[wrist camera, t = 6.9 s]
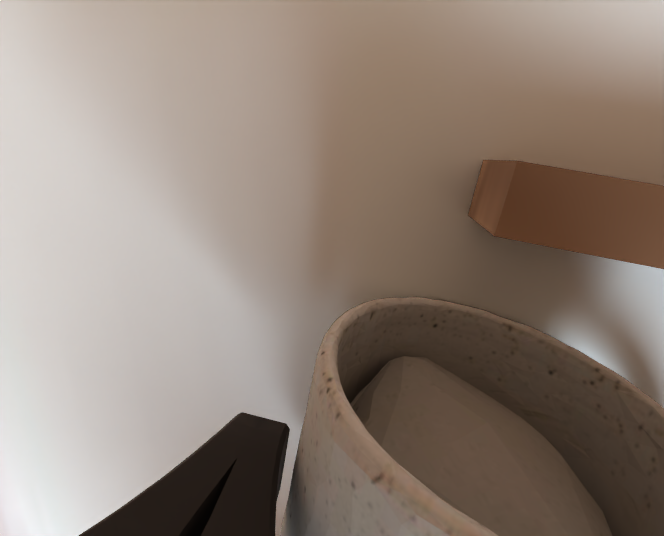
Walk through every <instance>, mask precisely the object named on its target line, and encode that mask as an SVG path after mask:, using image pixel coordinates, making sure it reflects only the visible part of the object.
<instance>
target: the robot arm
mask: <svg viewBox="0 0 664 536" xmlns="http://www.w3.org/2000/svg"><path fill="white" fill-rule="evenodd" d="M289 431H290V429H289V427H288V426H287V424H285V423H281V422H277V421H273V420H270V419H266V418H262V417H258V416H254V415H250V414H246V413H243V412H242V413H240V414H238V415H237V416H235V417H234V418H233V419H232V420H231V421H230V422H229V423H228V424H227V425H225V426H224V427H223V428H222V429H221V430H220V431H219V432H218V433H216V434H215V435H214V436H213V437H212V438H211V439H209V440H208V441H207V442H206V443H205V444H203V445H202V446H201V447H200V448H199V449H198V450H196V451H195V452H194V453H193V454H191V455H190V456H189V457H188V458H186V459H185V460H184V461H183V462H181V463H180V464H179V465H178V466H176V467H175V468H174V469H173V470H171V471H170V472H169V473H168V474H166V475H165V476H164V477H162V478H161V479H160V480H158V481H157V482H156V483H154V484H153V485H151V486H150V487H149V488H147V489H146V490H145V491H143V492H142V493H140V494H139V495H138V496H136V497H135V498H134V499H132V500H131V501H129V502H128V503H127V504H125V505H124V506H122V507H121V508H120V509H118V510H117V511H115V512H114V513H112V514H111V515H109V516H108V517H106V518H105V519H103V520H102V521H100V522H99V523H97V524H96V525H94V526H93V527H91V528H90V529H88V530H86V531H85V532H83V533H82V534H80V535H79V536H275V517H276V501H277V497H278V494H279V490H280V486H281V480H282V474H283V468H284V462H285V455H286V449H287V443H288V437H289Z"/></svg>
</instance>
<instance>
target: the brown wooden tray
mask: <svg viewBox="0 0 664 536" xmlns="http://www.w3.org/2000/svg"><path fill="white" fill-rule="evenodd" d="M468 216H470V217H471V218H472V219H473V220H475V221H476V222H477V223H478V224H480V225H481V226H482V227H483V228H485V229H486V230H487V231H488V232H490V233H491V234H492V235H493V236H496V237H501V238H506V239H511V240H517V241H522V242H527V243H532V244H537V245H542V246H548V247H553V248H558V249H563V250H568V251H573V252H578V253H584V254H589V255H594V256H599V257H604V258H609V259H615V260H620V261H625V262H630V263H635V264H640V265H646V266H651V267H656V268H661V269H664V186H660V185H655V184H649V183H643V182H637V181H631V180H626V179H620V178H614V177H608V176H602V175H597V174H591V173H585V172H579V171H573V170H568V169H562V168H556V167H550V166H544V165H539V164H533V163H527V162H521V161H503V160H483V163H482V167H481V170H480V174H479V177H478V181H477V184H476V188H475V192H474V195H473V199H472V202H471V206H470V209H469V213H468Z"/></svg>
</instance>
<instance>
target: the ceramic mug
mask: <svg viewBox="0 0 664 536" xmlns="http://www.w3.org/2000/svg"><path fill="white" fill-rule="evenodd" d="M280 536H664V408H663V407H661V406H660V405H659V404H658V403H657V402H656V401H654V400H653V399H652V398H651V397H649V396H648V395H646V394H645V393H643V392H642V391H641V390H639V389H638V388H637V387H635V386H634V385H633V384H631V383H630V382H629V381H628V380H626V379H625V378H623V377H622V376H620V375H619V374H617V373H616V372H614V371H612V370H610V369H609V368H607V367H605V366H604V365H602V364H600V363H598V362H597V361H595V360H593V359H592V358H590V357H588V356H587V355H585V354H583V353H582V352H580V351H579V350H577V349H574V348H572V347H570V346H568V345H566V344H564V343H562V342H561V341H559V340H557V339H555V338H553V337H551V336H549V335H547V334H545V333H542V332H540V331H538V330H536V329H534V328H532V327H530V326H527V325H524V324H520V323H517V322H514V321H511V320H509V319H506V318H503V317H499V316H497V315H494V314H492V313H490V312H487V311H484V310H481V309H477V308H473V307H469V306H464V305H460V304H456V303H451V302H447V301H443V300H431V299H428V298H419V297H408V298H383V299H376V300H372V301H368V302H365V303H362V304H360V305H358V306H356V307H354V308H352V309H350V310H348V311H347V312H345V313H344V314H343V315H342V316H340V317H339V318H338V319H337V320H336V321H335V322H334V323H333V324H332V326H331V327H330V329H329V330H328V332H327V333H326V334H325V336H324V338H323V340H322V343H321V346H320V348H319V351H318V354H317V359H316V364H315V369H314V374H313V379H312V384H311V388H310V394H309V399H308V405H307V410H306V415H305V419H304V423H303V427H302V431H301V435H300V440H299V445H298V450H297V455H296V460H295V464H294V469H293V475H292V481H291V486H290V492H289V498H288V502H287V506H286V510H285V514H284V518H283V522H282V526H281V531H280Z"/></svg>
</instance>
